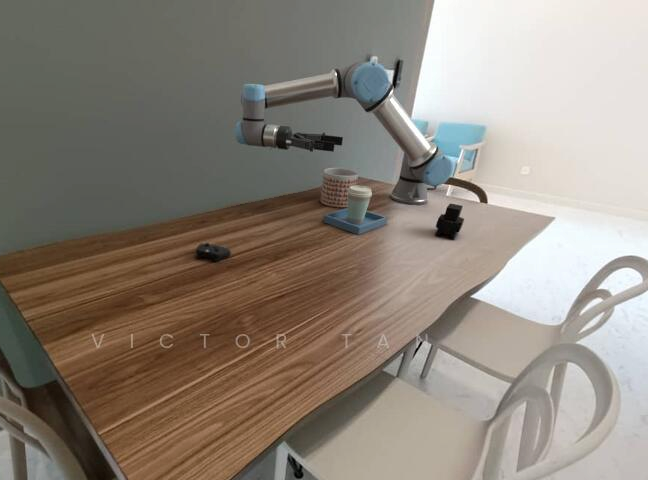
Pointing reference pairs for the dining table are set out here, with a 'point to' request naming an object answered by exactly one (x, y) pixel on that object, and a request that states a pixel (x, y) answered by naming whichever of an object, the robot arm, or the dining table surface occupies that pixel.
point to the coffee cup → (357, 203)
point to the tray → (341, 222)
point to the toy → (450, 221)
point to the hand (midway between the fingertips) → (338, 144)
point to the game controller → (212, 251)
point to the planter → (337, 186)
